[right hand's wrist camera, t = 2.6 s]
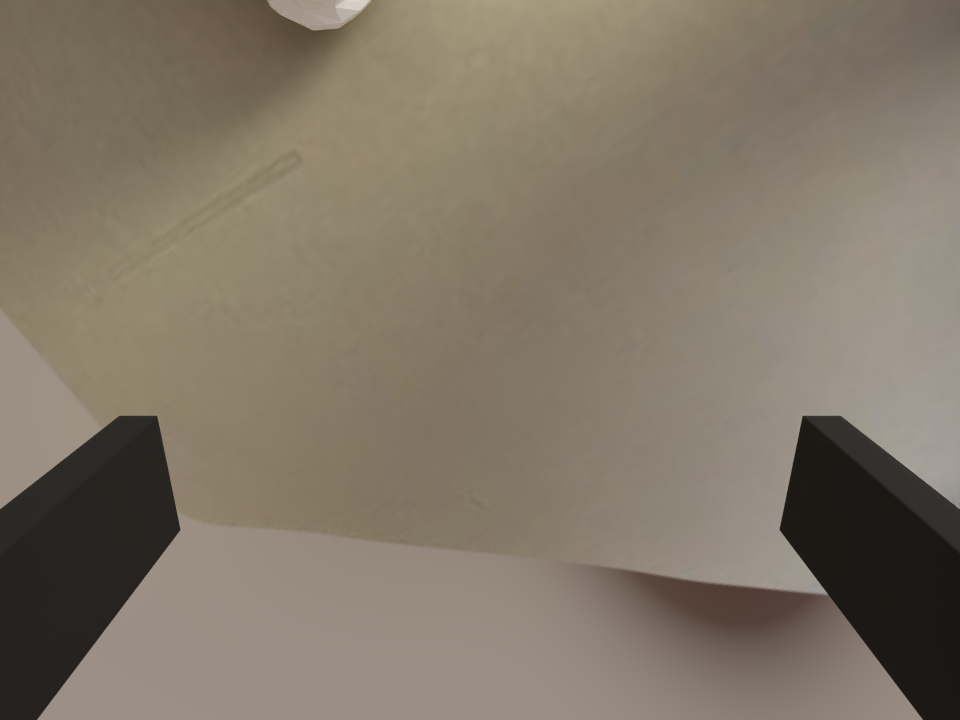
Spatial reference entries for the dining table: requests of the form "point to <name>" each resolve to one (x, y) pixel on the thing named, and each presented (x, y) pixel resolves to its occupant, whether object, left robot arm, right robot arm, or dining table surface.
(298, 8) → the skull
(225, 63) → the dining table surface
